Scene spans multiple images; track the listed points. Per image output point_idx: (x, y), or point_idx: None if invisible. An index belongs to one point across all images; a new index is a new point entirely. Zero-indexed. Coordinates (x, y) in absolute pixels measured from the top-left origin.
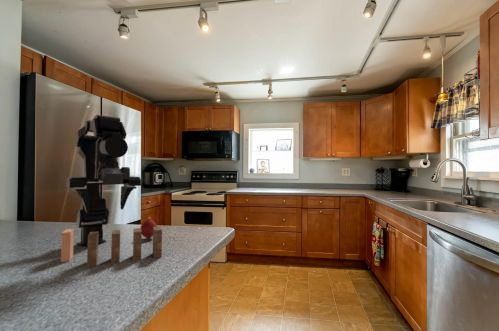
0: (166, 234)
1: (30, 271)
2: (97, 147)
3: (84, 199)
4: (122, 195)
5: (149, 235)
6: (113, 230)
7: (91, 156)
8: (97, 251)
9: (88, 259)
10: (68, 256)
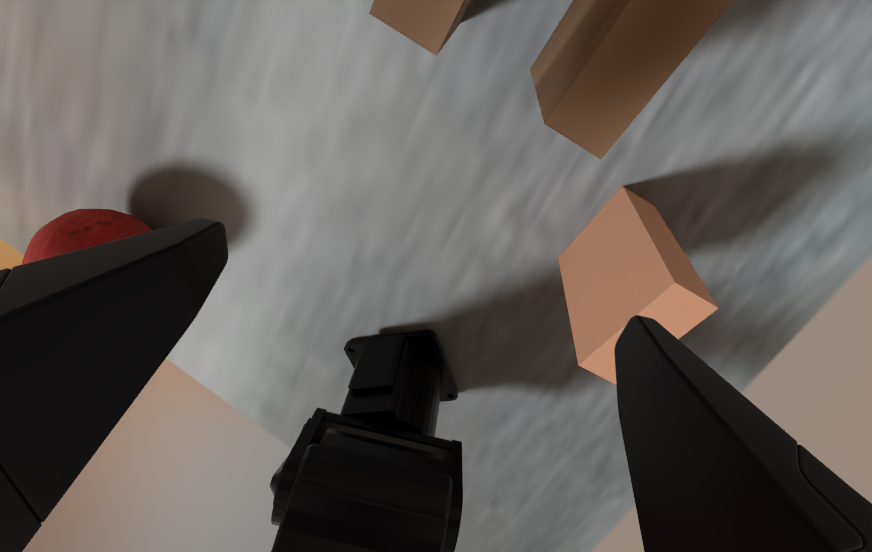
0: (29, 226)
1: (820, 183)
2: None
3: (821, 478)
4: (51, 403)
5: (127, 214)
6: (433, 40)
7: None
8: (561, 41)
9: None
10: (634, 201)
